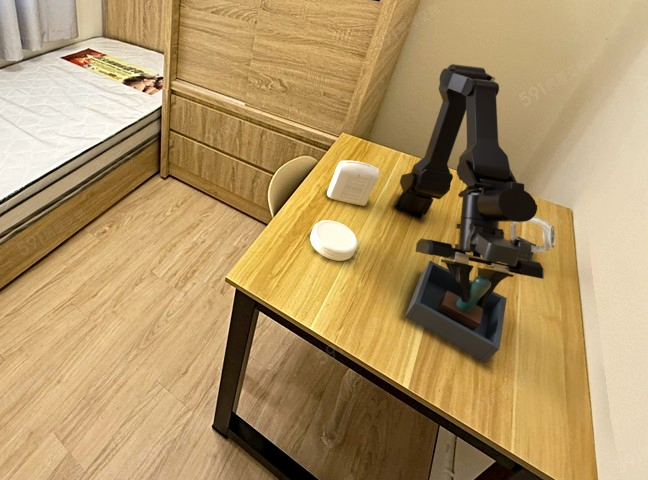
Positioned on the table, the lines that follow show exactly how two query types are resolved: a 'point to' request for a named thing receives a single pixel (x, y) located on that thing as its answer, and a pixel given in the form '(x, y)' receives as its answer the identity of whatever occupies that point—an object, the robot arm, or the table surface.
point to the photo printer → (353, 182)
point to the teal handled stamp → (465, 304)
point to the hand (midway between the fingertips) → (472, 304)
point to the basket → (425, 314)
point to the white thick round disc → (333, 240)
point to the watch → (547, 235)
